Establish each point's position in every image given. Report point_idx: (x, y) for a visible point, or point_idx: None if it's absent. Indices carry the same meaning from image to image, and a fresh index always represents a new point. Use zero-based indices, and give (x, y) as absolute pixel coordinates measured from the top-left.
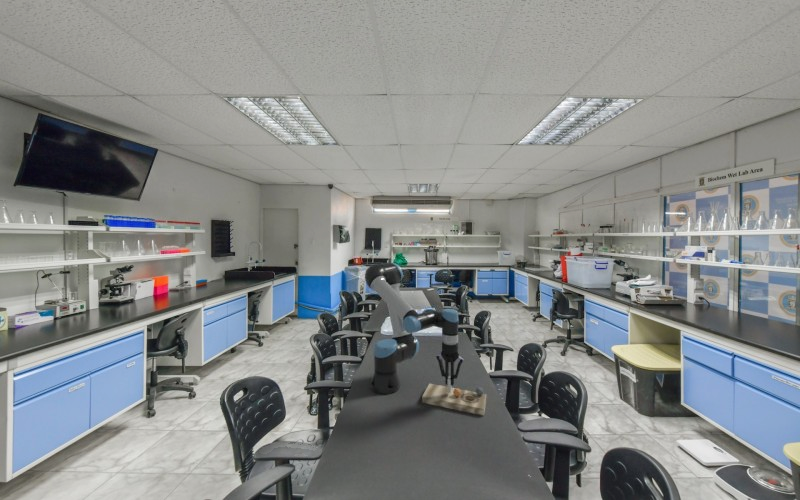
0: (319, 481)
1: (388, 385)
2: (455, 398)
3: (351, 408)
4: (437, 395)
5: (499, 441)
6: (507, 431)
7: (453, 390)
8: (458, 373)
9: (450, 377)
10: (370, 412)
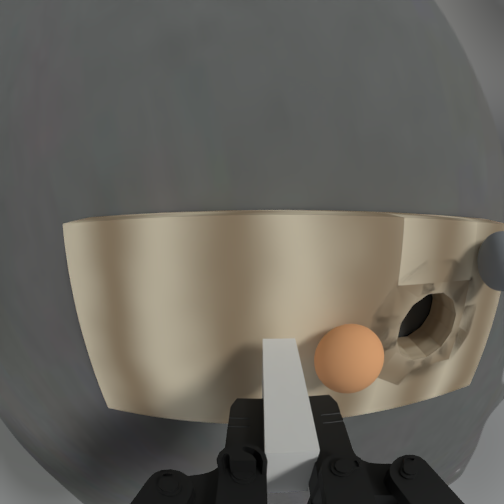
0: None
1: None
2: None
3: (4, 419)
4: (186, 385)
5: (449, 442)
6: (487, 395)
7: (318, 370)
8: (444, 490)
9: (299, 464)
10: (39, 438)
